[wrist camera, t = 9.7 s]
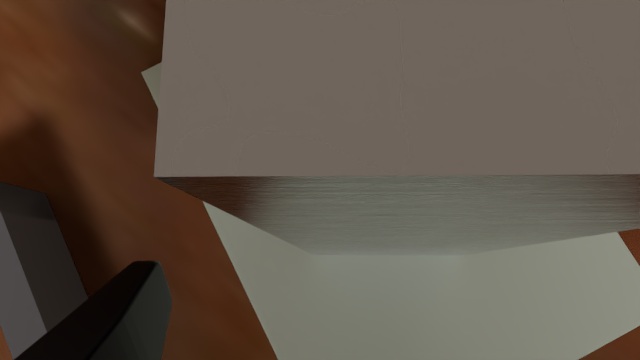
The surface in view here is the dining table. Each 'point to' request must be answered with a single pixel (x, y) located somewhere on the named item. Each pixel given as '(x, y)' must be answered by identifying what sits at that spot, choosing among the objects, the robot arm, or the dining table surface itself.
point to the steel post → (405, 120)
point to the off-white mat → (433, 296)
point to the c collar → (33, 269)
